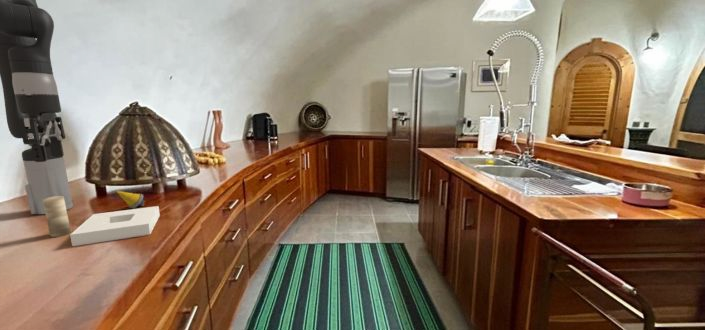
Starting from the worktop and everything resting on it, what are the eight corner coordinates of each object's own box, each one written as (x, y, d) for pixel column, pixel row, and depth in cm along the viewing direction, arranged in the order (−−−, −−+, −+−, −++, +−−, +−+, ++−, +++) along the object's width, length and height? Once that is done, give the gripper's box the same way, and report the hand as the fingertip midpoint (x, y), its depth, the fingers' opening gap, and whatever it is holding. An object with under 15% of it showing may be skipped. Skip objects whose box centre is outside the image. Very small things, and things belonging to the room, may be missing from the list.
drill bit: (148, 209, 103) (118, 194, 96) (136, 214, 104) (107, 200, 97) (152, 196, 106) (124, 181, 99) (142, 201, 108) (113, 187, 101)
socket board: (72, 246, 74) (70, 234, 74) (95, 224, 89) (93, 214, 88) (150, 234, 81) (148, 223, 80) (159, 215, 95) (158, 206, 94)
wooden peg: (47, 238, 79) (39, 201, 77) (54, 232, 83) (46, 197, 81) (67, 235, 81) (59, 199, 79) (73, 230, 84) (66, 195, 83)
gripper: (32, 94, 80) (45, 156, 83) (-4, 91, 67) (13, 164, 70) (69, 94, 83) (80, 154, 86) (41, 91, 70) (55, 162, 73)
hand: (50, 159), depth 78 cm, fingers open, 8 cm apart
